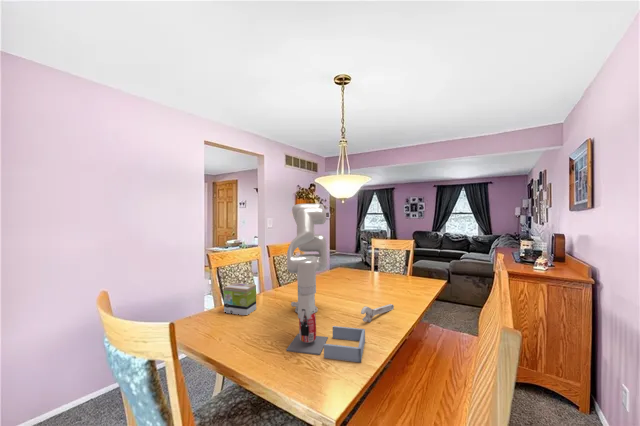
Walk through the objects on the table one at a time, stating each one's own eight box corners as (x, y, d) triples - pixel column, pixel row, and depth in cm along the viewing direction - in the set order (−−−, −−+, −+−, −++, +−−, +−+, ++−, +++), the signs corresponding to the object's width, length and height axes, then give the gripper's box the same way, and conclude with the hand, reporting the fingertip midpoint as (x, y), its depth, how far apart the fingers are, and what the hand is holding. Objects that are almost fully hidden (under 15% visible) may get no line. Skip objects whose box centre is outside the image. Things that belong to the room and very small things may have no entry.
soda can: (307, 334, 118) (306, 307, 118) (319, 339, 114) (319, 311, 114) (295, 340, 113) (295, 312, 113) (308, 346, 108) (308, 316, 108)
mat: (286, 350, 108) (286, 349, 108) (297, 335, 122) (297, 333, 122) (319, 355, 105) (319, 353, 105) (327, 338, 118) (327, 336, 118)
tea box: (223, 313, 149) (222, 286, 149) (234, 307, 158) (233, 282, 158) (247, 316, 144) (246, 288, 144) (257, 309, 154) (256, 283, 154)
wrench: (393, 314, 151) (363, 325, 130) (390, 313, 153) (359, 324, 131) (394, 299, 152) (364, 308, 130) (391, 299, 153) (360, 307, 132)
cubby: (324, 357, 103) (323, 344, 103) (333, 337, 119) (332, 325, 119) (360, 362, 99) (360, 349, 99) (365, 340, 116) (364, 329, 116)
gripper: (304, 283, 122) (305, 321, 123) (291, 295, 106) (292, 340, 106) (320, 283, 120) (321, 323, 121) (309, 296, 104) (310, 342, 104)
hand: (307, 330), depth 113 cm, fingers closed on soda can, 7 cm apart
